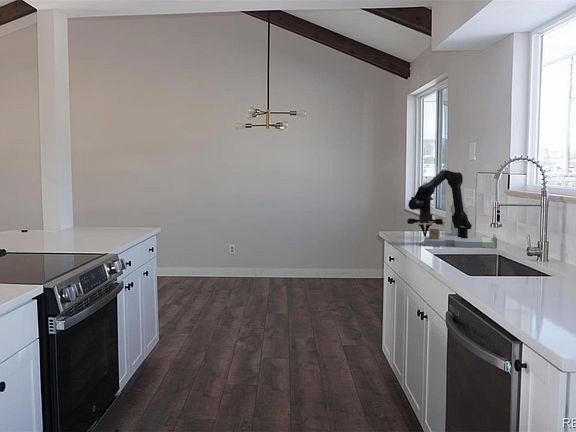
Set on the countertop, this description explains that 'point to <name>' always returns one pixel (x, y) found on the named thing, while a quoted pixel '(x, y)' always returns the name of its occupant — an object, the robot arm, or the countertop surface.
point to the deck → (462, 242)
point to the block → (433, 233)
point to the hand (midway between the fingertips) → (424, 236)
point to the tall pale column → (465, 207)
